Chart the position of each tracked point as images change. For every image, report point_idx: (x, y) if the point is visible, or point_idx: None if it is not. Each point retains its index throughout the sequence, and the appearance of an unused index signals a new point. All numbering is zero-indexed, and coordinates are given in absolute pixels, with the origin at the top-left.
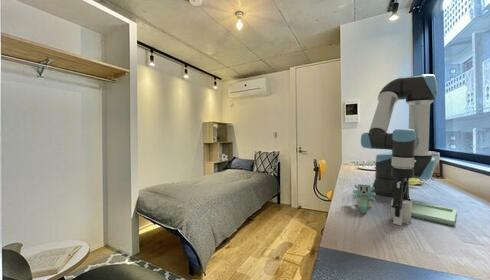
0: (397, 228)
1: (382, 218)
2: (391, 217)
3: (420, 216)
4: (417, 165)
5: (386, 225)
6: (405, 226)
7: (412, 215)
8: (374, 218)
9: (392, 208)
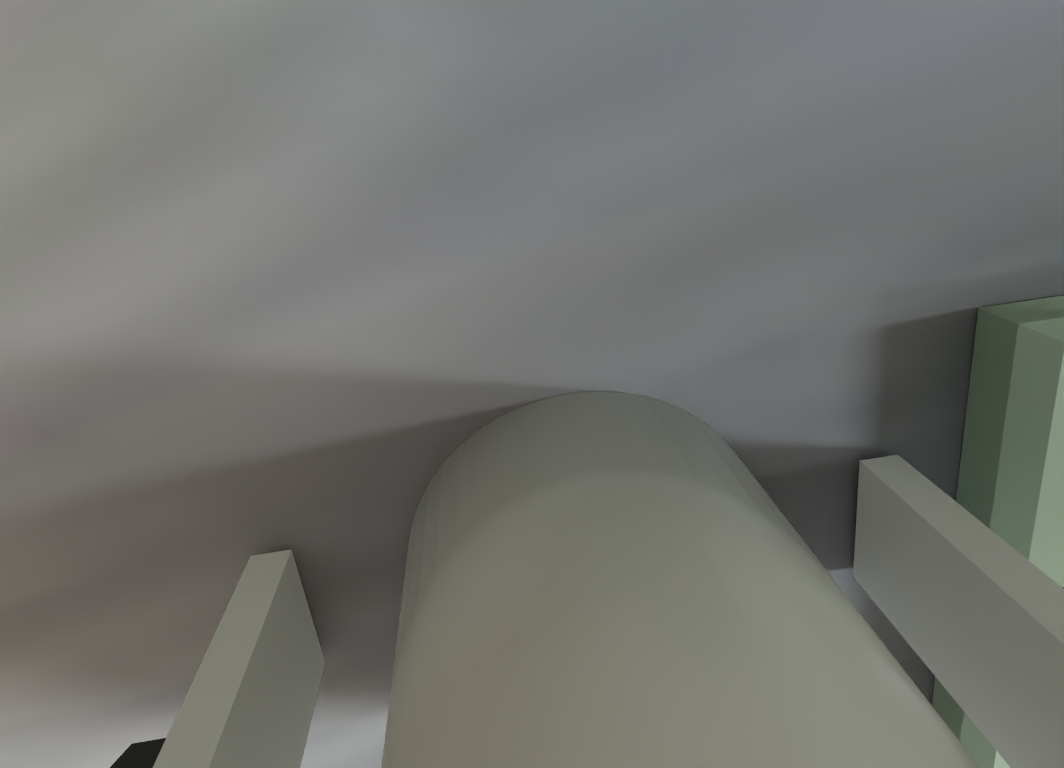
0: (112, 660)
1: (373, 288)
2: (461, 468)
3: (957, 737)
4: None
5: (46, 499)
6: (341, 696)
7: None
8: (189, 154)
9: (439, 656)
